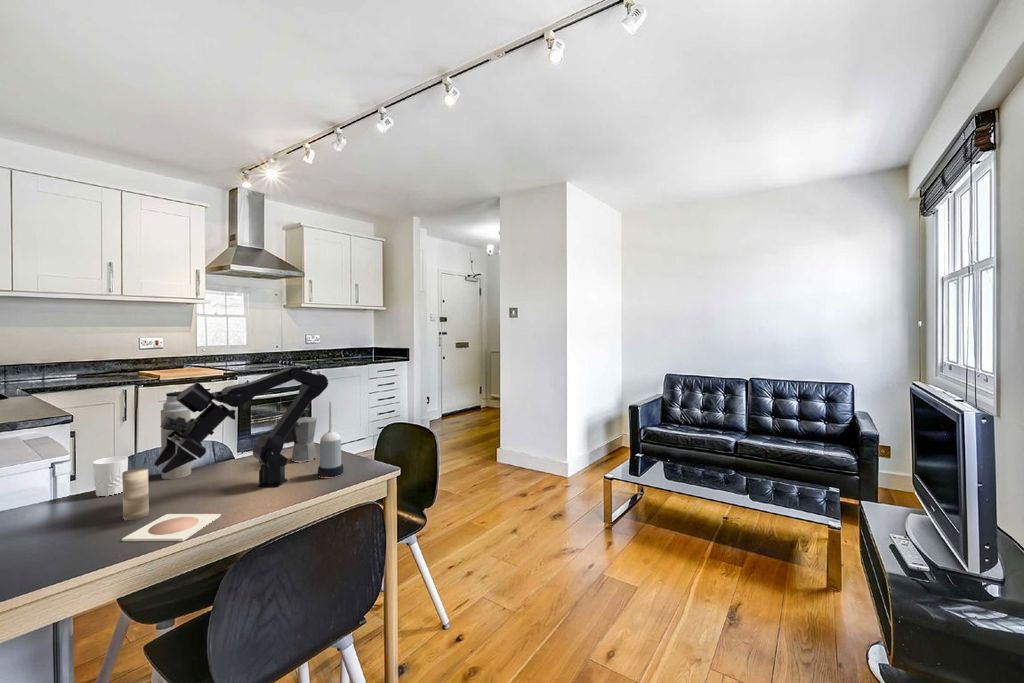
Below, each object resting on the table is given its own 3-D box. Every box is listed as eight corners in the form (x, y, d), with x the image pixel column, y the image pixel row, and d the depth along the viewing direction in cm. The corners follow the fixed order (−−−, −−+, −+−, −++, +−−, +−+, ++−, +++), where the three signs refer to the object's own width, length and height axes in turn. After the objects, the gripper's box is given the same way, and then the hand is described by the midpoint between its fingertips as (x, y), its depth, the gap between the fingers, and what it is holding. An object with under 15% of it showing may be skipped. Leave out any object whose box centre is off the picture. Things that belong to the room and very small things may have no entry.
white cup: (107, 488, 139) (107, 456, 138) (135, 487, 139) (134, 455, 139) (85, 498, 131) (85, 464, 131) (114, 497, 131) (114, 463, 131)
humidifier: (319, 480, 148) (318, 404, 147) (316, 473, 155) (316, 400, 154) (345, 476, 152) (345, 402, 151) (341, 469, 159) (341, 399, 158)
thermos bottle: (184, 470, 157) (183, 390, 156) (195, 474, 153) (194, 392, 152) (157, 476, 150) (156, 392, 149) (167, 480, 146) (166, 394, 145)
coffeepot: (300, 454, 178) (299, 409, 177) (323, 454, 177) (323, 409, 177) (279, 466, 162) (279, 416, 162) (305, 466, 162) (305, 416, 162)
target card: (220, 516, 119) (220, 513, 119) (182, 541, 105) (182, 538, 105) (166, 516, 119) (166, 513, 119) (121, 541, 105) (121, 538, 105)
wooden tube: (153, 512, 121) (153, 468, 121) (138, 520, 116) (137, 474, 116) (134, 512, 121) (133, 468, 121) (117, 520, 116) (116, 474, 116)
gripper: (174, 401, 132) (125, 445, 124) (191, 409, 119) (138, 458, 111) (206, 424, 138) (161, 467, 130) (225, 433, 125) (177, 482, 117)
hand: (158, 468), depth 122 cm, fingers open, 9 cm apart
